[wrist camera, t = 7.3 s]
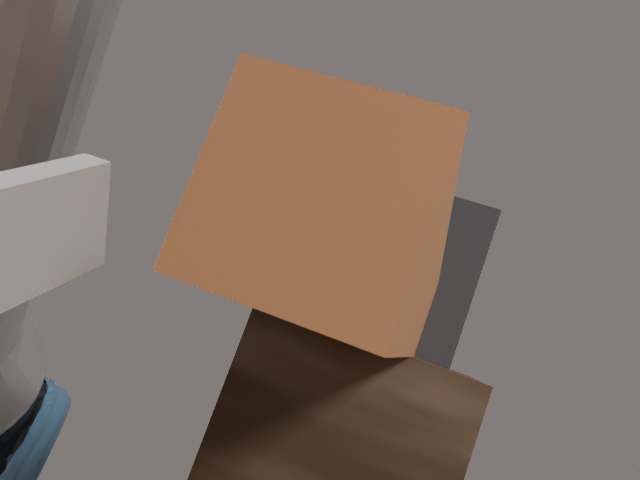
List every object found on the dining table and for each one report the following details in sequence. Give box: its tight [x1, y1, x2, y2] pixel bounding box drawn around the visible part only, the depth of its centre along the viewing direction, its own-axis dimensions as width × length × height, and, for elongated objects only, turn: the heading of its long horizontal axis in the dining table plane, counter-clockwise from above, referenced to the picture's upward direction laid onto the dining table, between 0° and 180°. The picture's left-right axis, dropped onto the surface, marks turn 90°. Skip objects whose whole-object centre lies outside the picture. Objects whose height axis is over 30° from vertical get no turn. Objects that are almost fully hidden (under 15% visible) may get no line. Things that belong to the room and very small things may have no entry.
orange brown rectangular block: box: [153, 53, 501, 370], centre depth 21 cm, size 26×7×8 cm, turn 168°
